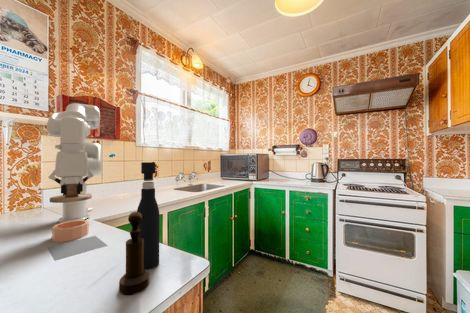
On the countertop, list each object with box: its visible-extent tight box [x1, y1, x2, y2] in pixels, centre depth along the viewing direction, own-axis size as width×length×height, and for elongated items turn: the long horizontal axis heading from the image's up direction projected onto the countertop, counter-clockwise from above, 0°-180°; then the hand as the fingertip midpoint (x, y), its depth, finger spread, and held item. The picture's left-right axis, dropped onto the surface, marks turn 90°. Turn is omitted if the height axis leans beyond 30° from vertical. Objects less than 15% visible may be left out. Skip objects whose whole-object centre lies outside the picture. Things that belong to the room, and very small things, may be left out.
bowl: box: [51, 219, 90, 243], centre depth 80 cm, size 11×11×5 cm
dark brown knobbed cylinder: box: [118, 211, 150, 296], centre depth 49 cm, size 7×6×18 cm
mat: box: [47, 235, 108, 261], centre depth 70 cm, size 14×14×1 cm
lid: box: [49, 183, 93, 204], centre depth 80 cm, size 13×13×6 cm
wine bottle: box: [136, 161, 161, 271], centre depth 59 cm, size 6×6×30 cm
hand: (71, 193), depth 80 cm, fingers closed on lid, 4 cm apart
